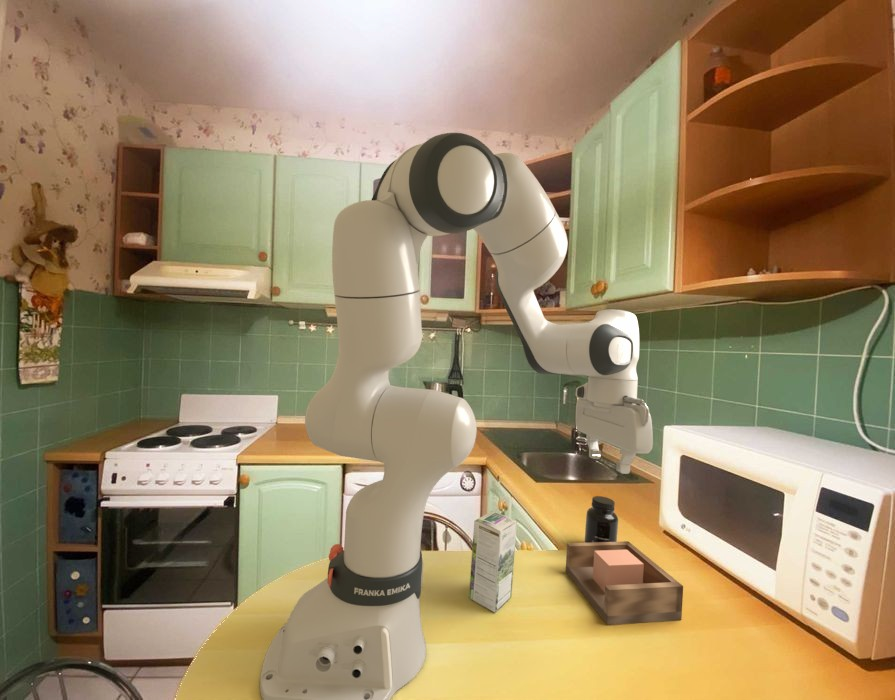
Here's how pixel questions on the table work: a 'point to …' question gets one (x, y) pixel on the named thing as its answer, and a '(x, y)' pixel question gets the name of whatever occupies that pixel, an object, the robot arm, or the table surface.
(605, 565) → the pink rectangular block
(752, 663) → the table surface
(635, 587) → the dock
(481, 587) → the syrup box
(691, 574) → the table surface
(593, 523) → the supplement bottle
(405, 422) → the robot arm
